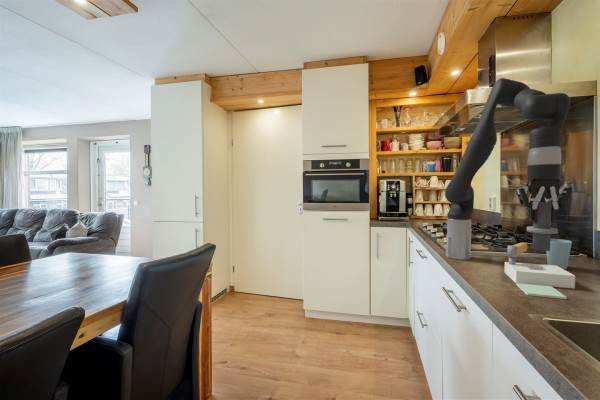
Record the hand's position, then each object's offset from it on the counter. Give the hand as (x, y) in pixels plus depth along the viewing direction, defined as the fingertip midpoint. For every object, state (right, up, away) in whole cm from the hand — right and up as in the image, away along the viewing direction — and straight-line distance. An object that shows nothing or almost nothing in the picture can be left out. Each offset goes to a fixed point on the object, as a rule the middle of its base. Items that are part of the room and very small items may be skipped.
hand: (542, 221), depth 85 cm
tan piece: (+8, -13, +20) cm, 25 cm away
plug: (0, -8, 0) cm, 8 cm away
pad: (0, -21, +1) cm, 21 cm away
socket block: (+8, -20, +11) cm, 25 cm away
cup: (+28, -20, +26) cm, 43 cm away
